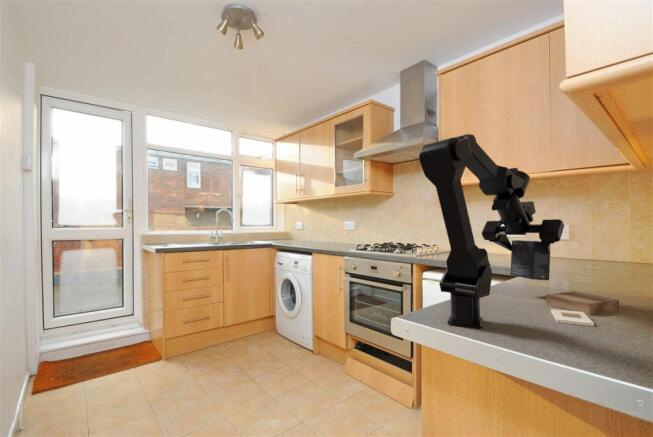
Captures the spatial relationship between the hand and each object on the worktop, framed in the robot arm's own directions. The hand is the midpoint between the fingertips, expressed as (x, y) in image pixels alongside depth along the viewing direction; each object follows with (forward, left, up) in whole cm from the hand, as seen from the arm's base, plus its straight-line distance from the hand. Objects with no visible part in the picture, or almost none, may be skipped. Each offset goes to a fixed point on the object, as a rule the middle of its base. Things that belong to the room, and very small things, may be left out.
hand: (529, 250), depth 87 cm
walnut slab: (-7, -10, -13) cm, 18 cm away
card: (-19, -6, -13) cm, 24 cm away
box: (0, 0, -8) cm, 8 cm away
